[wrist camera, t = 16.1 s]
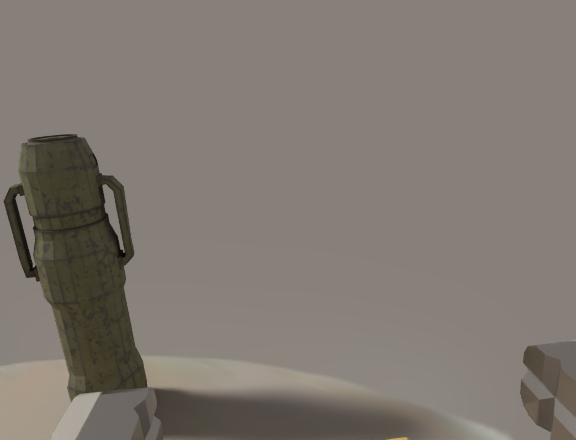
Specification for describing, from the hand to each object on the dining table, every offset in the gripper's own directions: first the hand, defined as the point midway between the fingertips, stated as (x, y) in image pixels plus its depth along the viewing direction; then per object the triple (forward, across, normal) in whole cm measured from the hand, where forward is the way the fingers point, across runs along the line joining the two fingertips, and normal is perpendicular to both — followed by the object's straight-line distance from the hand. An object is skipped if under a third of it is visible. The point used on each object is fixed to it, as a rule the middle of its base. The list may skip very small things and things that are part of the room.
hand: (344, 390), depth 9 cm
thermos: (+40, -23, -32) cm, 56 cm away
